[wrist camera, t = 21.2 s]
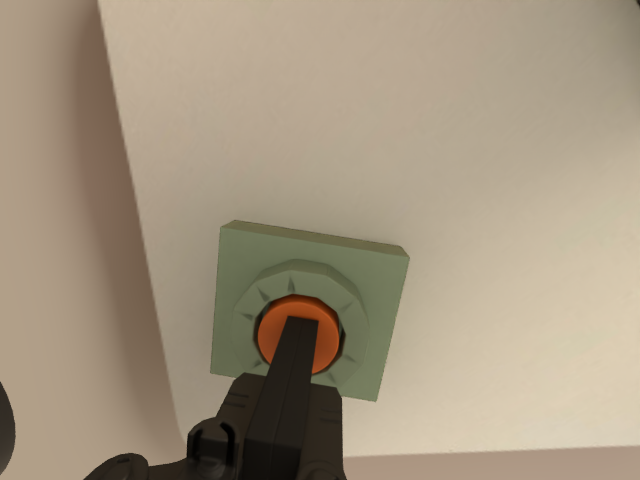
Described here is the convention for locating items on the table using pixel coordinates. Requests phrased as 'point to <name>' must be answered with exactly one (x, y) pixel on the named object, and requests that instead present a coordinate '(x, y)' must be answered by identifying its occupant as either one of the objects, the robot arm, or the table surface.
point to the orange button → (303, 309)
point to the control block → (310, 280)
